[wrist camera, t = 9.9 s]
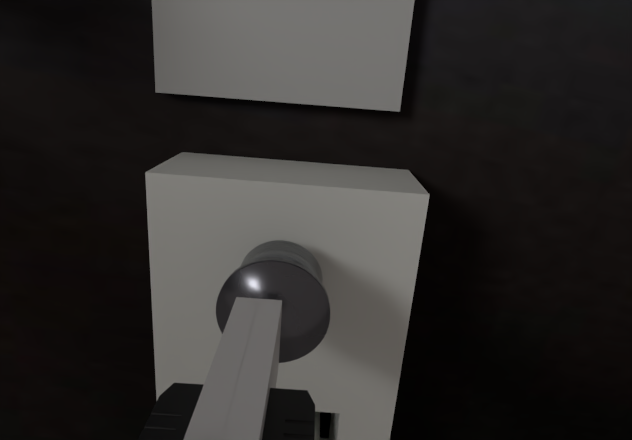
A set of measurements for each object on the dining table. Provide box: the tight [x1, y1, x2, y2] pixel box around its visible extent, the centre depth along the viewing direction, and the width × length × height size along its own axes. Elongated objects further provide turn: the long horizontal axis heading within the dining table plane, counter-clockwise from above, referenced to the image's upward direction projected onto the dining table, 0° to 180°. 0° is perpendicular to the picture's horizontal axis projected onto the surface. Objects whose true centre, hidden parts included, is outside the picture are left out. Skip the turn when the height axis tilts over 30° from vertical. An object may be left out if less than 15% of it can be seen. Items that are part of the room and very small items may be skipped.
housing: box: [145, 152, 430, 440], centre depth 26 cm, size 12×30×5 cm, turn 176°
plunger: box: [216, 240, 330, 363], centre depth 17 cm, size 4×4×3 cm
